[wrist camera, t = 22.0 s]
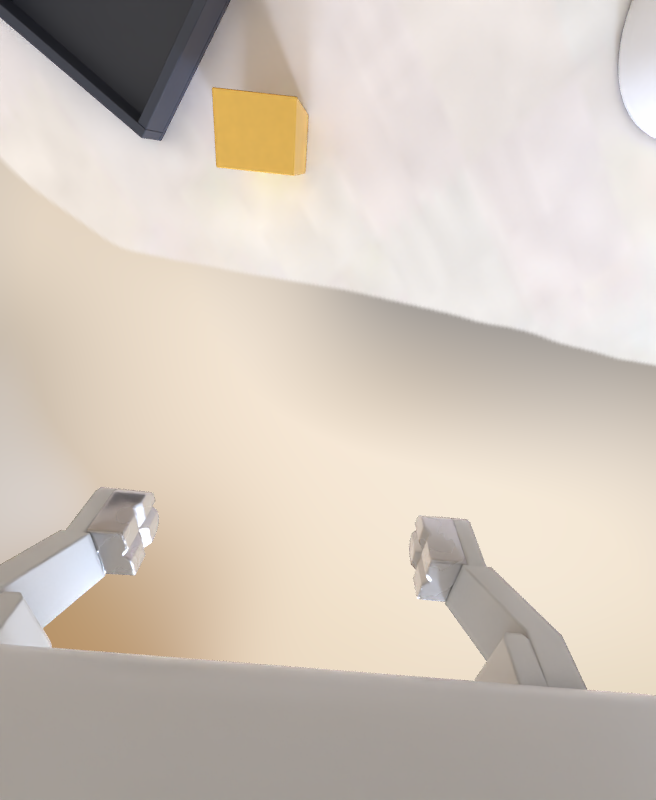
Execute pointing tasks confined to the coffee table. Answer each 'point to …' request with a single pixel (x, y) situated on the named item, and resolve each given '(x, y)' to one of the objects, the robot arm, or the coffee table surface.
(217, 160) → the cheese
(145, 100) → the pan
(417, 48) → the coffee table surface
